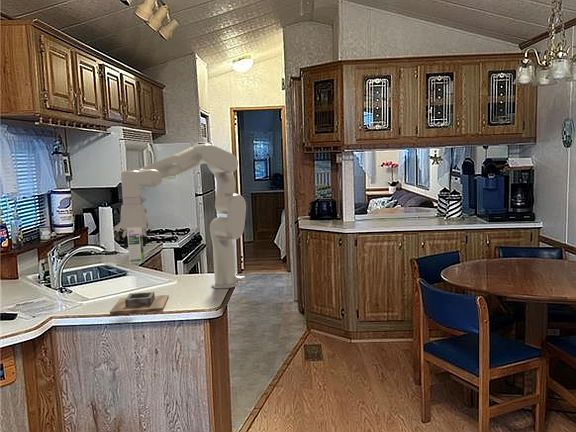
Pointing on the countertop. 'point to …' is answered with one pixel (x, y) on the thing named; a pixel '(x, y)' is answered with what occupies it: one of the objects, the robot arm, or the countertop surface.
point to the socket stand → (140, 303)
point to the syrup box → (135, 245)
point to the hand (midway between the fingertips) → (135, 245)
